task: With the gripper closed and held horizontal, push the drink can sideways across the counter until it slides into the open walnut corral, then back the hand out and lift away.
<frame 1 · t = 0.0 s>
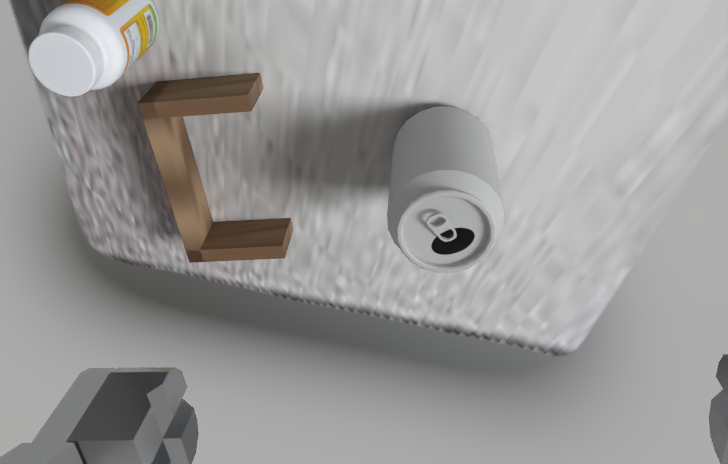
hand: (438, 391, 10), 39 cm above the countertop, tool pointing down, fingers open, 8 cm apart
can: (442, 145, 51), on the countertop
supplement bottle: (124, 15, 47), on the countertop
corral: (253, 159, 53), on the countertop
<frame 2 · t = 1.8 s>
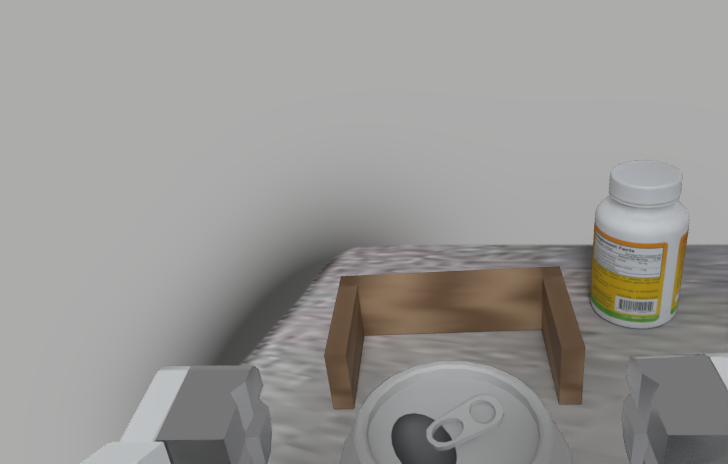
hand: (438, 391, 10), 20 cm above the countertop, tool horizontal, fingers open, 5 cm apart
supplement bottle: (632, 308, 44), on the countertop
corral: (453, 382, 39), on the countertop
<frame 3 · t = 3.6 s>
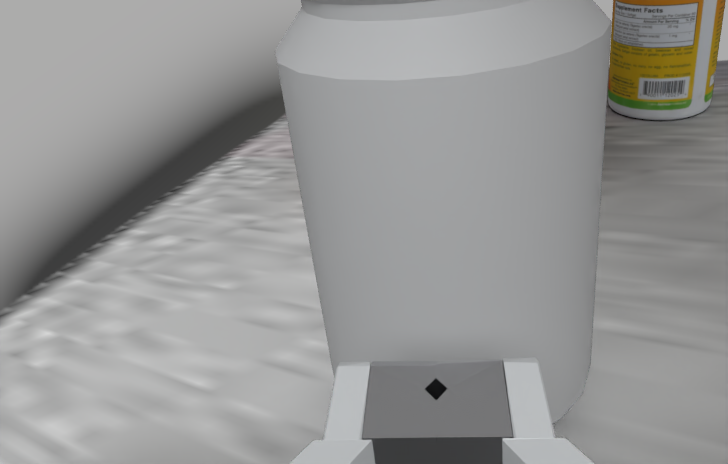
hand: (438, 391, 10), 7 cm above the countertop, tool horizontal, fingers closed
can: (458, 380, 20), on the countertop
supplement bottle: (657, 109, 38), on the countertop
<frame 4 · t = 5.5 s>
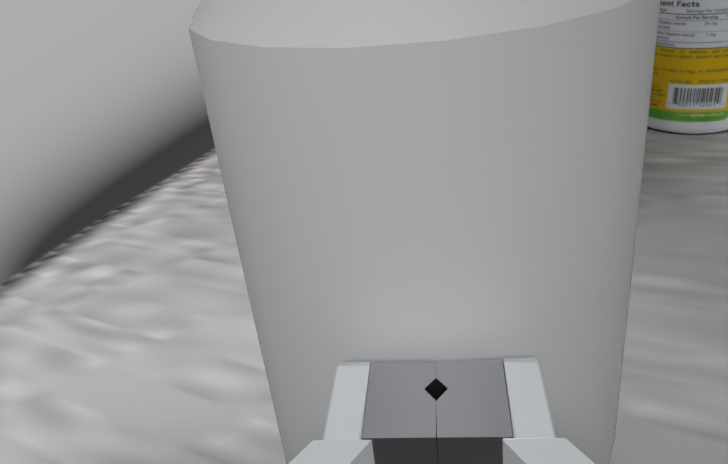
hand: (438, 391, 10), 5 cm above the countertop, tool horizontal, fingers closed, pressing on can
can: (445, 446, 16), on the countertop, touching gripper
supplement bottle: (686, 120, 32), on the countertop
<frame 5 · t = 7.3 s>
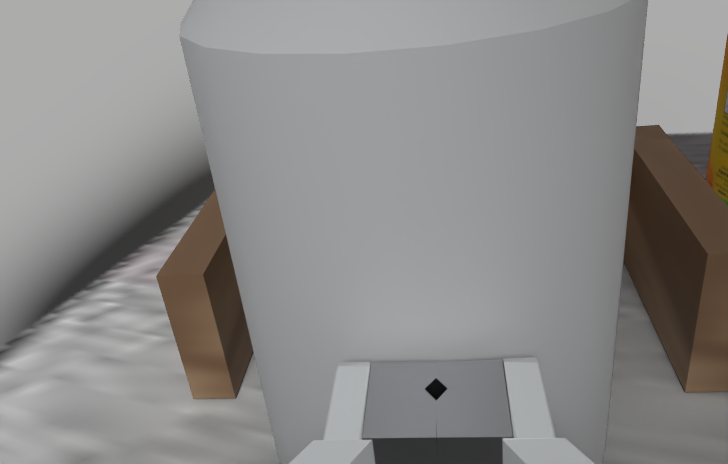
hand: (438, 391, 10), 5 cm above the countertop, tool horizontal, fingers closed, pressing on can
can: (438, 449, 16), on the countertop, touching gripper
corral: (448, 346, 19), on the countertop
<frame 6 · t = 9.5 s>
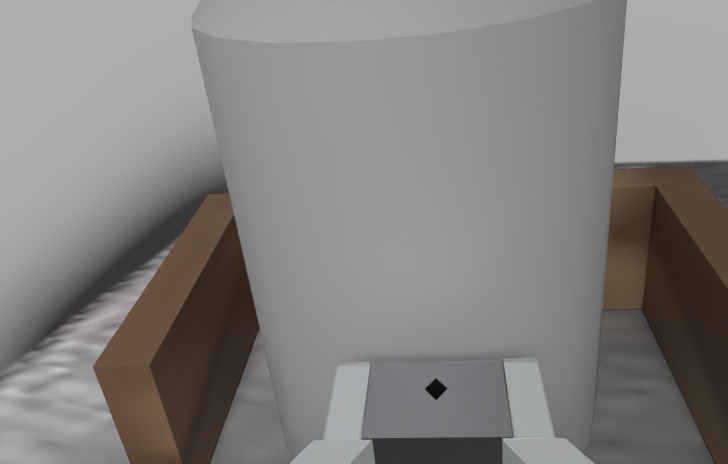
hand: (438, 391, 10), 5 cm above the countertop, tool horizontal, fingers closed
can: (435, 425, 17), on the countertop
corral: (448, 432, 16), on the countertop
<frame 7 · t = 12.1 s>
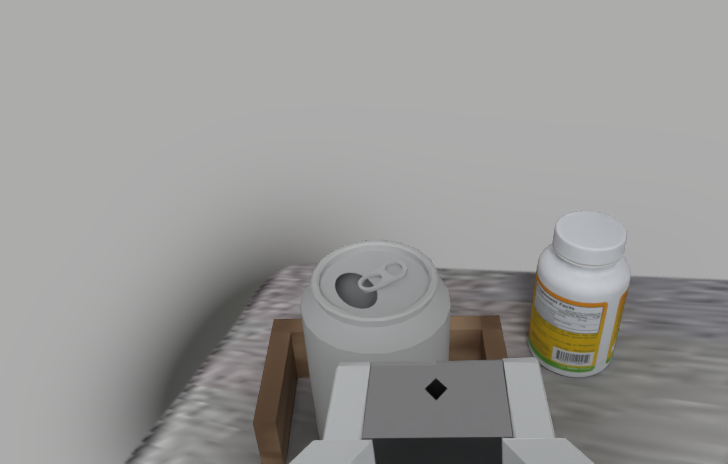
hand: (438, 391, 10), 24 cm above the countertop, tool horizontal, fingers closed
can: (382, 434, 39), on the countertop
supplement bottle: (568, 351, 44), on the countertop
corral: (387, 438, 39), on the countertop
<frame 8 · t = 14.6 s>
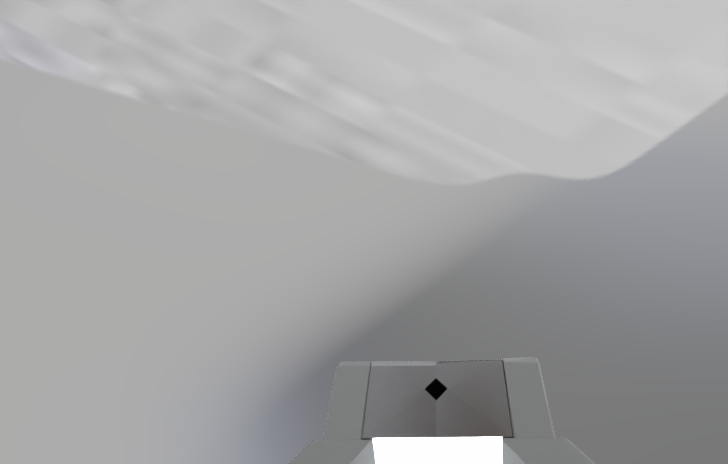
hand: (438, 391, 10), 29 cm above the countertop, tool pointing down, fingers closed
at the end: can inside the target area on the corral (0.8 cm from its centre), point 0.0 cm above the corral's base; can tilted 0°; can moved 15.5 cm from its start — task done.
